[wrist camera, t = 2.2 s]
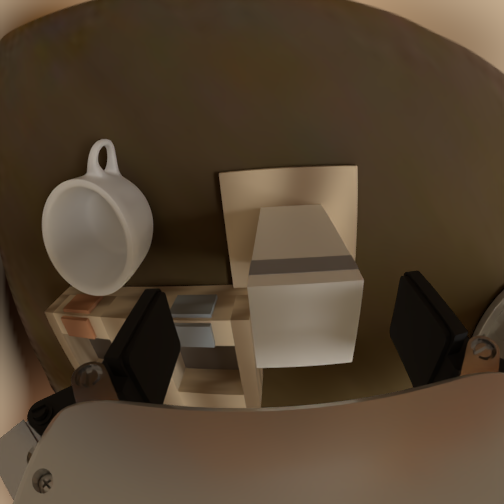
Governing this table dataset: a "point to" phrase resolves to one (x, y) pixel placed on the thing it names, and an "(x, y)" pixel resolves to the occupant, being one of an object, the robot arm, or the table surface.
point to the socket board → (181, 377)
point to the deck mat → (284, 204)
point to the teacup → (97, 226)
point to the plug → (302, 290)
